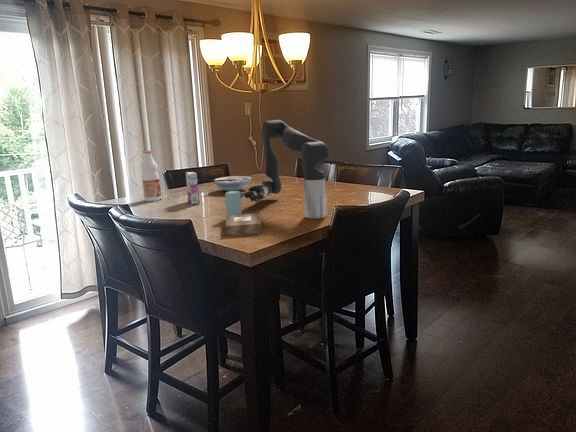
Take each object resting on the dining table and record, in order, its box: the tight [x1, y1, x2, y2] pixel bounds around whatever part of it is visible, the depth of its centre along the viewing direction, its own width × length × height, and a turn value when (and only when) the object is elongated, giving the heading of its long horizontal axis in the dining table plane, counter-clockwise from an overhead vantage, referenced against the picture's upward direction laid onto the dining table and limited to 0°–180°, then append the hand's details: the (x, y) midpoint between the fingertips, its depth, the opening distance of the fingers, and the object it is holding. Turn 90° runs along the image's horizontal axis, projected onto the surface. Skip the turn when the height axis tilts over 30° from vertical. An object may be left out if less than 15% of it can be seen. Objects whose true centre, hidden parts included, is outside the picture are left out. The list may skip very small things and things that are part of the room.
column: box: [224, 190, 243, 216], centre depth 204 cm, size 5×5×12 cm
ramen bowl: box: [209, 175, 252, 192], centre depth 271 cm, size 25×23×8 cm
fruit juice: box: [140, 150, 163, 202], centre depth 252 cm, size 9×9×28 cm
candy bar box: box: [185, 171, 200, 206], centre depth 240 cm, size 11×5×16 cm, turn 21°
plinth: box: [225, 212, 262, 237], centre depth 185 cm, size 14×18×4 cm
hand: (243, 198), depth 212 cm, fingers open, 8 cm apart
